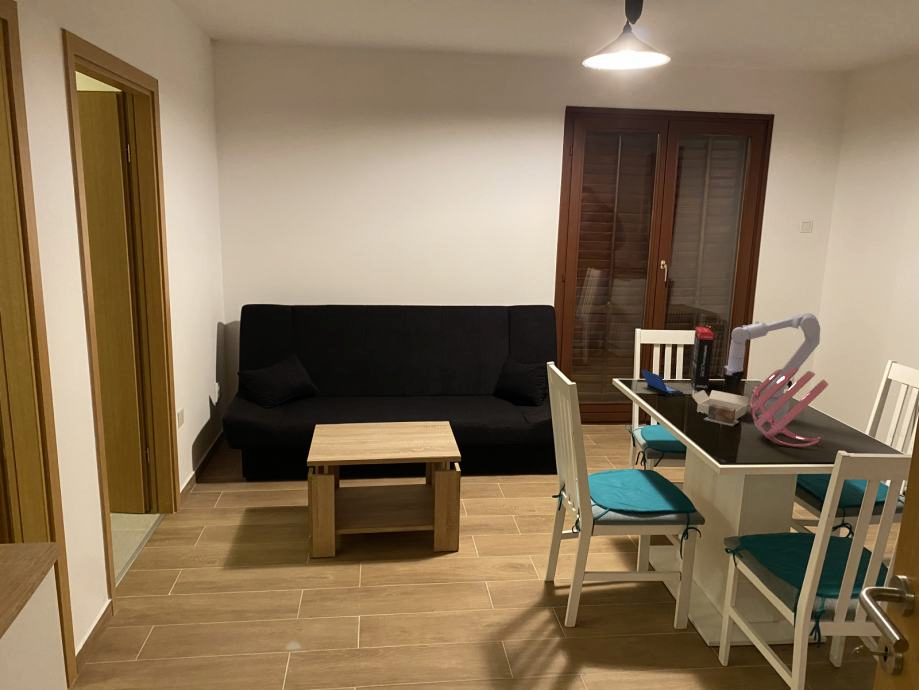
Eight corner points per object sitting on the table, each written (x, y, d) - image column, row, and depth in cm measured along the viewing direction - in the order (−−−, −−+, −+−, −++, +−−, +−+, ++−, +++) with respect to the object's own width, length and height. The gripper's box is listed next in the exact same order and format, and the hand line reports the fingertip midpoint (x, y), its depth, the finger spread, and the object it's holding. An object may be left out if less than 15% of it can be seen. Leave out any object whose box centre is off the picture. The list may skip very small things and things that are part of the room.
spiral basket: (867, 395, 237) (802, 342, 247) (838, 428, 219) (769, 369, 229) (813, 441, 256) (755, 390, 266) (783, 474, 238) (722, 418, 248)
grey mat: (738, 422, 266) (739, 421, 266) (732, 426, 260) (732, 425, 260) (710, 415, 273) (710, 414, 273) (703, 419, 267) (703, 418, 266)
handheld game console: (684, 396, 303) (686, 375, 302) (658, 397, 299) (660, 376, 298) (663, 387, 318) (665, 367, 316) (638, 388, 314) (640, 368, 312)
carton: (754, 414, 279) (756, 398, 278) (742, 422, 267) (744, 406, 265) (703, 403, 292) (705, 388, 291) (689, 410, 279) (691, 395, 278)
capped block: (734, 421, 265) (735, 409, 264) (730, 423, 262) (732, 411, 261) (710, 416, 271) (712, 404, 270) (707, 418, 268) (709, 406, 267)
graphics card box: (708, 391, 312) (716, 333, 307) (692, 390, 314) (699, 331, 309) (703, 383, 329) (710, 327, 324) (688, 381, 330) (694, 326, 325)
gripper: (732, 353, 284) (727, 385, 286) (720, 357, 272) (716, 390, 275) (749, 356, 279) (745, 388, 282) (738, 360, 268) (734, 394, 271)
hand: (732, 389), depth 278 cm, fingers open, 7 cm apart
